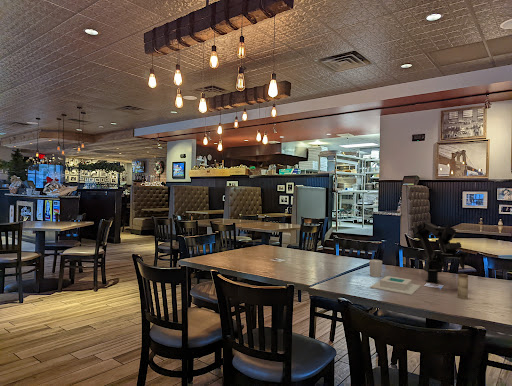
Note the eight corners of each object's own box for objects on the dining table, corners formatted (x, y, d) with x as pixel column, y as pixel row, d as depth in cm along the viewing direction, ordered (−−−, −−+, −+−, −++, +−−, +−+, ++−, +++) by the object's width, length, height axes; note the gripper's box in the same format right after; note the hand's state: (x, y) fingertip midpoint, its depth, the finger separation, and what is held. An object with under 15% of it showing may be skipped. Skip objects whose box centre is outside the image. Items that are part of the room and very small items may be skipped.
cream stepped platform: (382, 280, 218) (382, 273, 218) (421, 286, 205) (421, 279, 205) (369, 287, 199) (370, 280, 199) (411, 295, 186) (411, 287, 186)
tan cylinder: (457, 295, 187) (458, 273, 187) (468, 297, 184) (468, 274, 184) (456, 297, 183) (457, 274, 183) (467, 299, 181) (467, 276, 181)
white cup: (373, 277, 224) (374, 262, 224) (366, 274, 231) (367, 259, 231) (384, 277, 226) (384, 261, 226) (377, 274, 234) (377, 259, 234)
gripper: (433, 236, 198) (443, 259, 187) (467, 237, 197) (479, 261, 186) (427, 248, 205) (435, 271, 194) (459, 249, 205) (470, 272, 194)
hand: (455, 268), depth 192 cm, fingers open, 9 cm apart
